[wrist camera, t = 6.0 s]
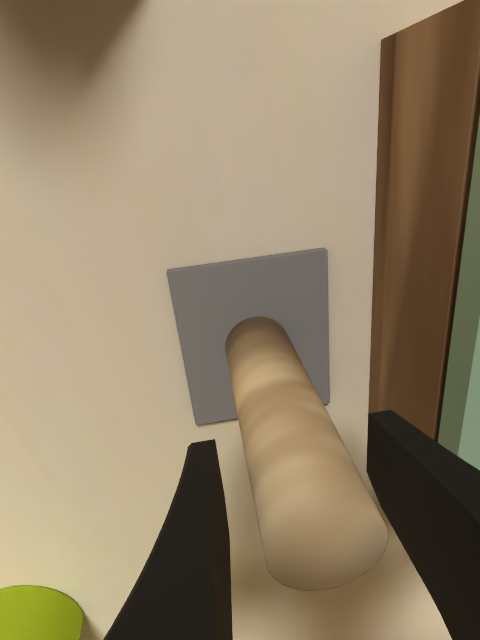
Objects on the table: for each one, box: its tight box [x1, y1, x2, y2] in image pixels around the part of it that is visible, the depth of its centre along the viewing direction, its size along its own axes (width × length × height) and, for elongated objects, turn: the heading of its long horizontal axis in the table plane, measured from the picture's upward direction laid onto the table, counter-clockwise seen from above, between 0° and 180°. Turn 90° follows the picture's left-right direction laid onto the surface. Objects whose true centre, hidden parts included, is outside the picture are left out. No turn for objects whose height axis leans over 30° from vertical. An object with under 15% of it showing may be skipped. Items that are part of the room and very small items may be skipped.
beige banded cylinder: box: [225, 316, 388, 591], centre depth 13 cm, size 3×3×9 cm
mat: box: [167, 248, 330, 425], centre depth 17 cm, size 6×7×1 cm
